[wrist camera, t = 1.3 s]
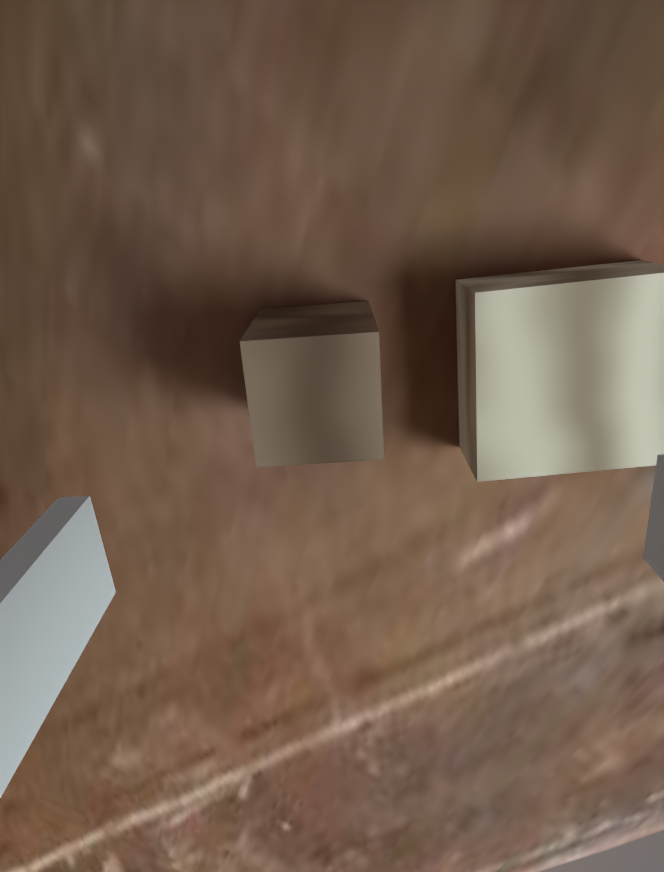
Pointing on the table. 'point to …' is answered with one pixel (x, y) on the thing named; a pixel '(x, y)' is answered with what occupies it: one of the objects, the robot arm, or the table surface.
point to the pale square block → (561, 370)
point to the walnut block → (314, 384)
